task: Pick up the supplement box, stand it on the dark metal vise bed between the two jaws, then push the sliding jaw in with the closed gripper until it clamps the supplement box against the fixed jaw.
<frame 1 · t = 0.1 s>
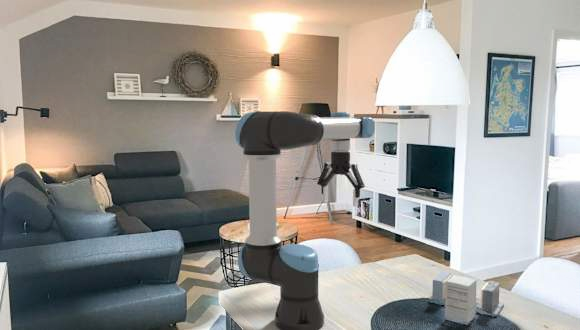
hand: (340, 204, 193), 28 cm above the table, fingers open, 13 cm apart
supplement box: (460, 320, 150), on the table
vise: (465, 304, 161), on the table
sliding jaw: (442, 286, 165), point 5 cm above the table, slide at 0.0 cm
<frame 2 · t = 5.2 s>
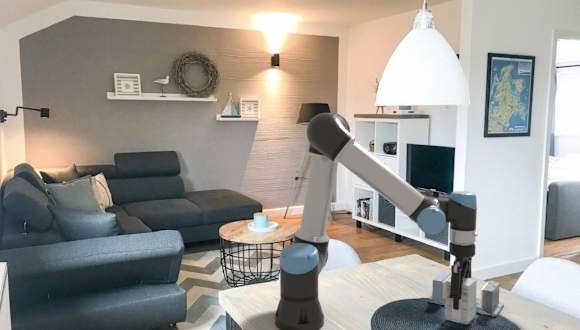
hand: (460, 314, 150), 2 cm above the table, fingers closed on supplement box, 7 cm apart
supplement box: (460, 319, 150), on the table, touching gripper
everything else where it was.
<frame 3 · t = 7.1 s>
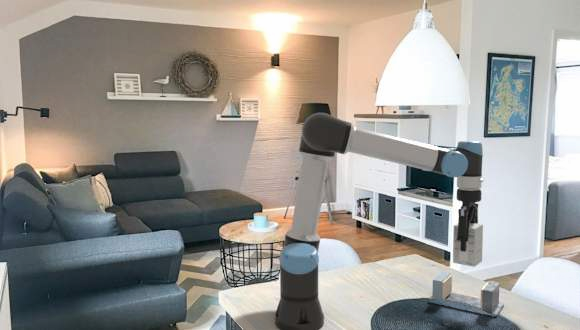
hand: (467, 257, 158), 17 cm above the table, fingers closed on supplement box, 7 cm apart
supplement box: (467, 262, 159), point 15 cm above the table, touching gripper
everything else where it was.
when the fingers open (4 cm above the table, at t = 9.4 s): supplement box drops 1 cm, resting on vise.
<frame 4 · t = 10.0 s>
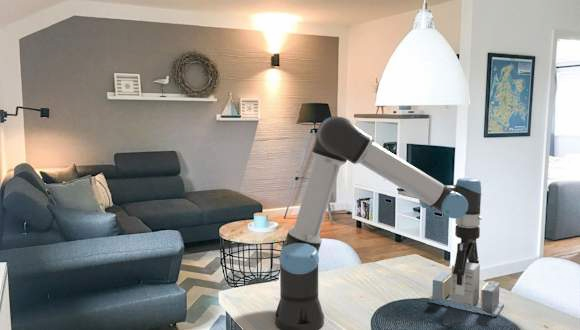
hand: (465, 287, 161), 6 cm above the table, fingers open, 13 cm apart
supplement box: (464, 301, 162), point 1 cm above the table, touching vise
everything else where it was.
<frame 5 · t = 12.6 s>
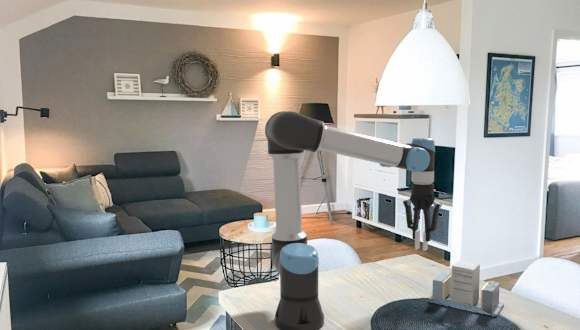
hand: (421, 249, 169), 16 cm above the table, fingers open, 2 cm apart
nothing on the table moved.
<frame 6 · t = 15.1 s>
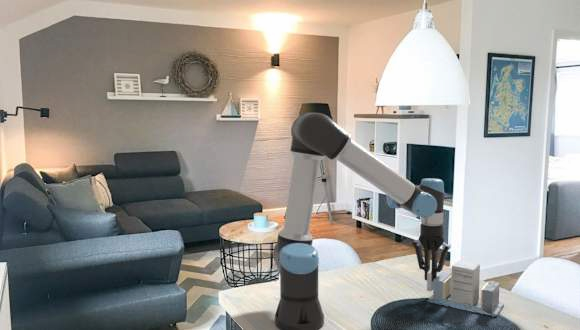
hand: (430, 289, 168), 3 cm above the table, fingers closed
sliding jaw: (443, 286, 165), point 5 cm above the table, slide at 0.2 cm, touching gripper
everything else where it was.
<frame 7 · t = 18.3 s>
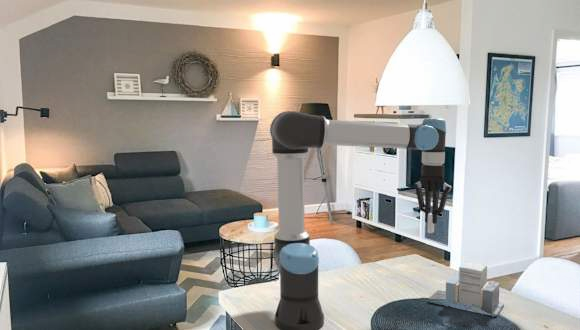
hand: (430, 232, 166), 23 cm above the table, fingers closed
supplement box: (472, 303, 160), point 1 cm above the table, touching vise
sliding jaw: (455, 288, 163), point 5 cm above the table, slide at 4.4 cm
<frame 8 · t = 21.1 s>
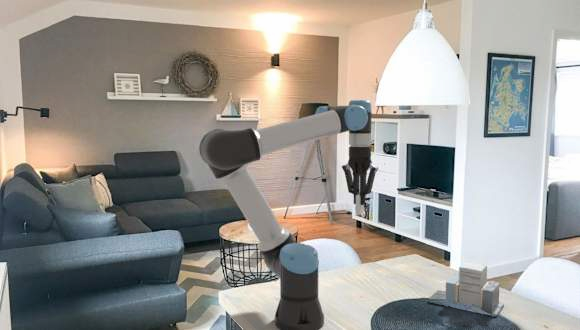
hand: (359, 213, 167), 29 cm above the table, fingers closed
nothing on the table moved.
at the end: sliding jaw slide at 4.4 cm; supplement box inside the target area (0.2 cm from its centre), point 0.8 cm above the table; supplement box tilted 0° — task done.
